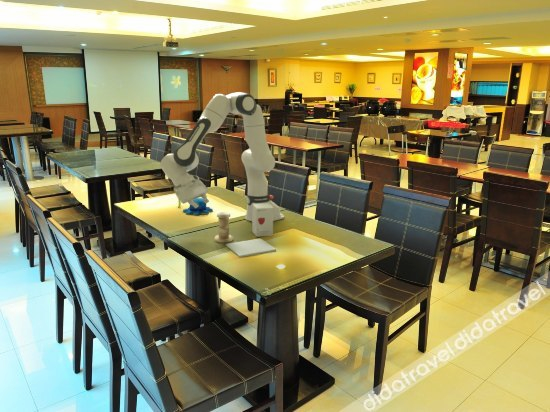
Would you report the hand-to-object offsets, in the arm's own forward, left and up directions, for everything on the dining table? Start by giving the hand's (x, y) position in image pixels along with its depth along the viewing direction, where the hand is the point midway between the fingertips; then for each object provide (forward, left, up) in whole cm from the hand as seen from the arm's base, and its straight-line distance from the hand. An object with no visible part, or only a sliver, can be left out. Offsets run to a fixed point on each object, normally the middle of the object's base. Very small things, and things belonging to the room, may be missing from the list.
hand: (202, 204), depth 205 cm
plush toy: (-11, -44, -17) cm, 48 cm away
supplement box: (-28, +9, -16) cm, 34 cm away
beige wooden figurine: (-7, +9, -16) cm, 20 cm away
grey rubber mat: (-14, +25, -16) cm, 33 cm away
